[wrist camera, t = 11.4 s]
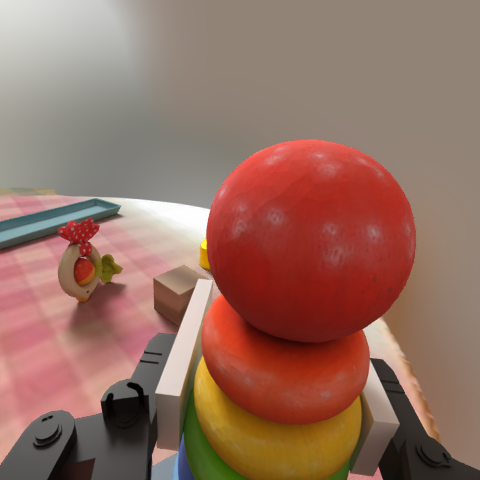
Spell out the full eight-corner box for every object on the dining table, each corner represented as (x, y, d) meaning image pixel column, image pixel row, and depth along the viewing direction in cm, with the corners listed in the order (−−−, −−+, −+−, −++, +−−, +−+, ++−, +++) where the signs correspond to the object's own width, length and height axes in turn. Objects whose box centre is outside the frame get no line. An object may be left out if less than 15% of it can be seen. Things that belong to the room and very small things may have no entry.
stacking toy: (232, 422, 19) (280, 130, 12) (346, 524, 15) (538, 167, 7) (125, 545, 13) (84, 110, 6) (265, 776, 9) (842, 243, 1)
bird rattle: (108, 314, 38) (128, 262, 44) (82, 266, 30) (110, 210, 36) (62, 311, 38) (88, 259, 44) (22, 262, 30) (61, 206, 36)
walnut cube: (178, 327, 35) (179, 294, 32) (154, 309, 37) (153, 277, 35) (207, 310, 38) (209, 279, 36) (183, 294, 41) (183, 264, 39)
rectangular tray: (-3, 254, 46) (-7, 241, 45) (-32, 240, 50) (-36, 227, 49) (122, 215, 68) (122, 205, 67) (97, 207, 71) (96, 197, 70)
